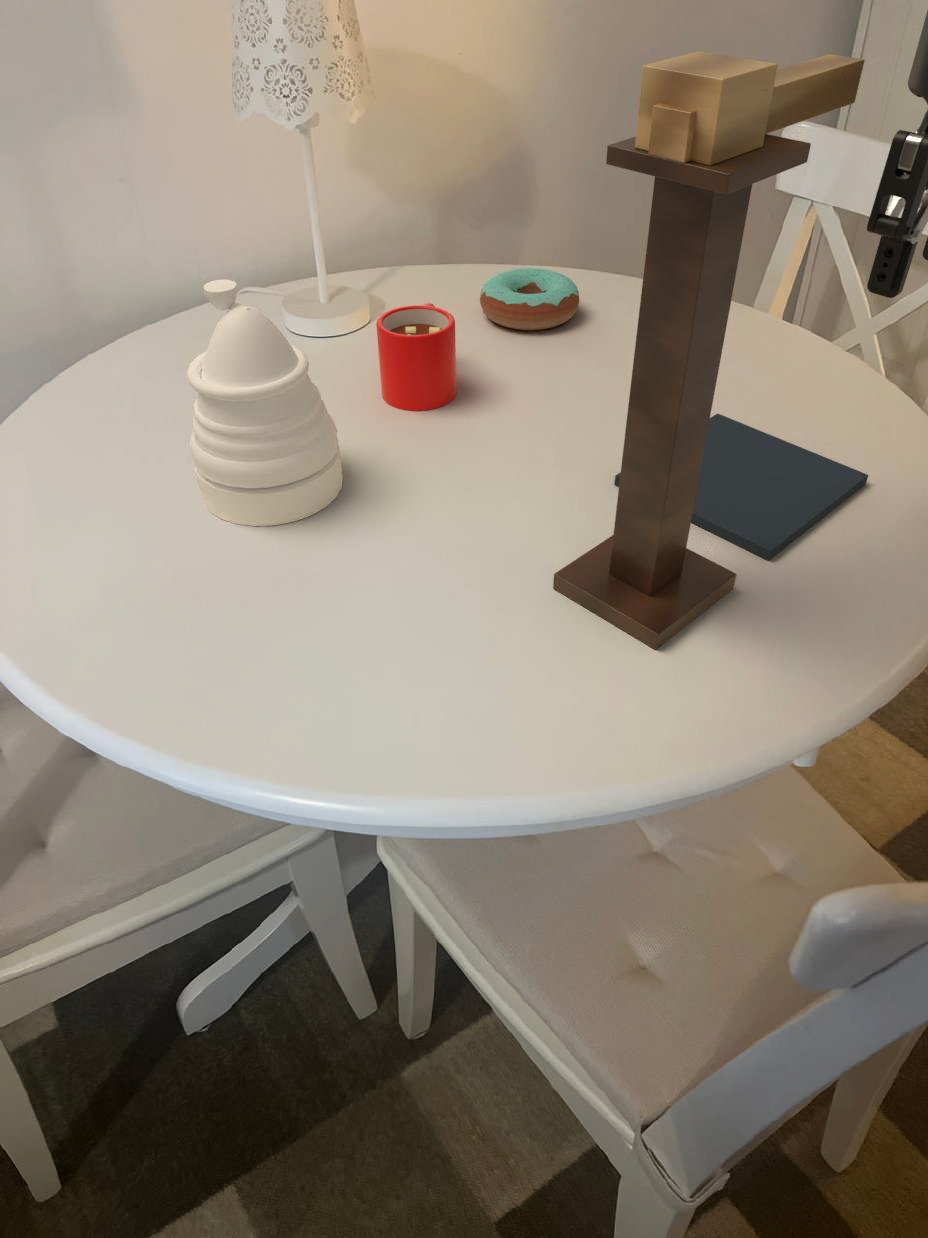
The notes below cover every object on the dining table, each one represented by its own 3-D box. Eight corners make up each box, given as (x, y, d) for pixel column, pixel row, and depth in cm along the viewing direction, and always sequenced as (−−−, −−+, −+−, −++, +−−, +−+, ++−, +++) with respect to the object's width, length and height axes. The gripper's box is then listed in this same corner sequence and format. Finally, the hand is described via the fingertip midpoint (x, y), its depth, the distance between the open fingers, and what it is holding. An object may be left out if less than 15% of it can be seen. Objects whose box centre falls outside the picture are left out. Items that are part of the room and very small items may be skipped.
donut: (598, 313, 112) (601, 280, 109) (533, 345, 106) (534, 311, 103) (524, 287, 118) (525, 256, 116) (459, 315, 112) (458, 283, 109)
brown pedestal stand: (733, 588, 72) (837, 142, 51) (655, 650, 67) (735, 182, 46) (632, 535, 78) (688, 112, 57) (552, 588, 73) (581, 144, 51)
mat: (865, 484, 83) (868, 474, 82) (768, 561, 75) (771, 551, 74) (715, 421, 92) (717, 412, 91) (613, 484, 84) (615, 475, 83)
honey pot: (170, 496, 83) (118, 300, 71) (269, 435, 91) (237, 250, 79) (276, 543, 78) (238, 339, 66) (371, 473, 85) (353, 280, 74)
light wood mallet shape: (874, 106, 57) (893, 30, 55) (704, 168, 48) (717, 80, 45) (802, 93, 60) (816, 21, 57) (628, 149, 51) (636, 66, 48)
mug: (466, 360, 103) (465, 290, 98) (450, 412, 94) (448, 338, 89) (397, 356, 104) (392, 287, 99) (374, 408, 95) (368, 335, 90)
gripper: (1013, 30, 49) (916, 322, 60) (1105, -2, 57) (1004, 263, 67) (880, 14, 53) (812, 290, 64) (983, -14, 61) (906, 238, 71)
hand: (911, 276), depth 66 cm, fingers open, 8 cm apart
